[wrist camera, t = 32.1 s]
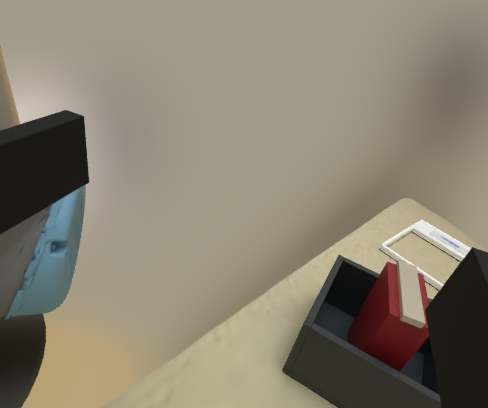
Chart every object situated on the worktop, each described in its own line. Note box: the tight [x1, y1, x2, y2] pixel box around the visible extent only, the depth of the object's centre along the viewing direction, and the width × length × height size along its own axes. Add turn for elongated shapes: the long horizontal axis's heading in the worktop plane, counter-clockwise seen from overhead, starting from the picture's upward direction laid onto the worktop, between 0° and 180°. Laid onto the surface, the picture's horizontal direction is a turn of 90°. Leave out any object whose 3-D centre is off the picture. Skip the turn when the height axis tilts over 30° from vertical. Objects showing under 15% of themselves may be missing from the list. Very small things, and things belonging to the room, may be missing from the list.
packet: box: [347, 260, 429, 372], centre depth 37 cm, size 4×8×13 cm, turn 161°
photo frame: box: [379, 220, 471, 291], centre depth 63 cm, size 15×1×18 cm
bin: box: [282, 255, 442, 408], centre depth 39 cm, size 16×14×9 cm
